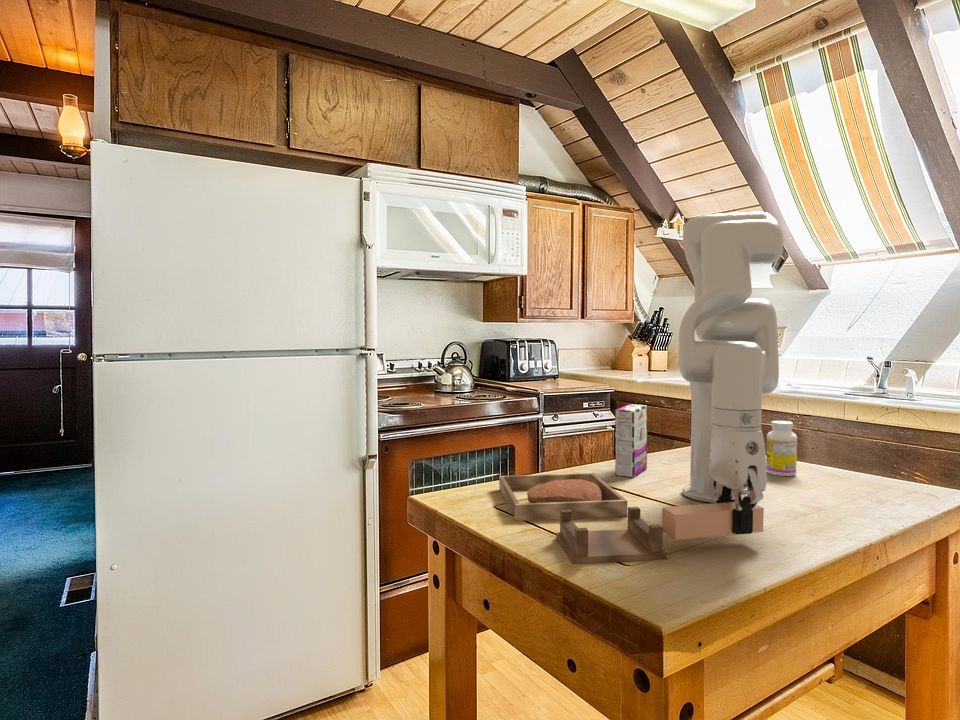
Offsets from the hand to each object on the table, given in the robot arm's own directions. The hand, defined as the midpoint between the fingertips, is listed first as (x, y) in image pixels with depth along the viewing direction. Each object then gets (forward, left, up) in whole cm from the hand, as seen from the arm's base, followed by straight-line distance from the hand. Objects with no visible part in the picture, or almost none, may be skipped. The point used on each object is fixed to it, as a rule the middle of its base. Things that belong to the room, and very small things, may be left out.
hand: (733, 526), depth 97 cm
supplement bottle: (-37, -43, -3) cm, 57 cm away
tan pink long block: (+4, 0, 0) cm, 4 cm away
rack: (+21, -1, -3) cm, 21 cm away
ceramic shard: (+22, -26, -4) cm, 34 cm away
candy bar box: (-1, -49, -3) cm, 49 cm away
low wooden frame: (+23, -27, -3) cm, 36 cm away
